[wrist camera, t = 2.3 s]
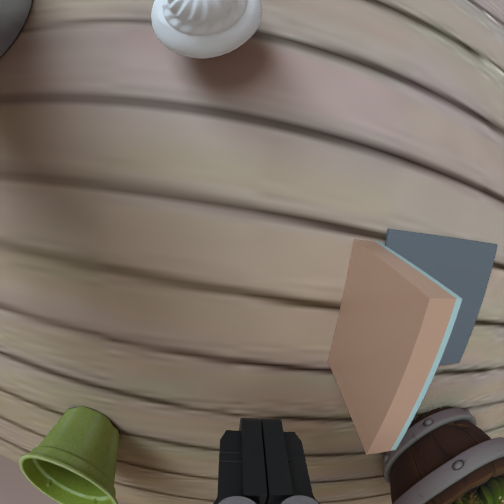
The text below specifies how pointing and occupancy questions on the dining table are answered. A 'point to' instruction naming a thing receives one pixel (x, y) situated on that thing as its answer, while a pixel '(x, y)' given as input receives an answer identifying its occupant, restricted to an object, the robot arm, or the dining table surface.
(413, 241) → the mat
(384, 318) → the tile
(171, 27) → the white citrus juicer
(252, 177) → the dining table surface
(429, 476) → the flowerpot
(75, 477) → the plant pot
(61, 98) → the dining table surface
